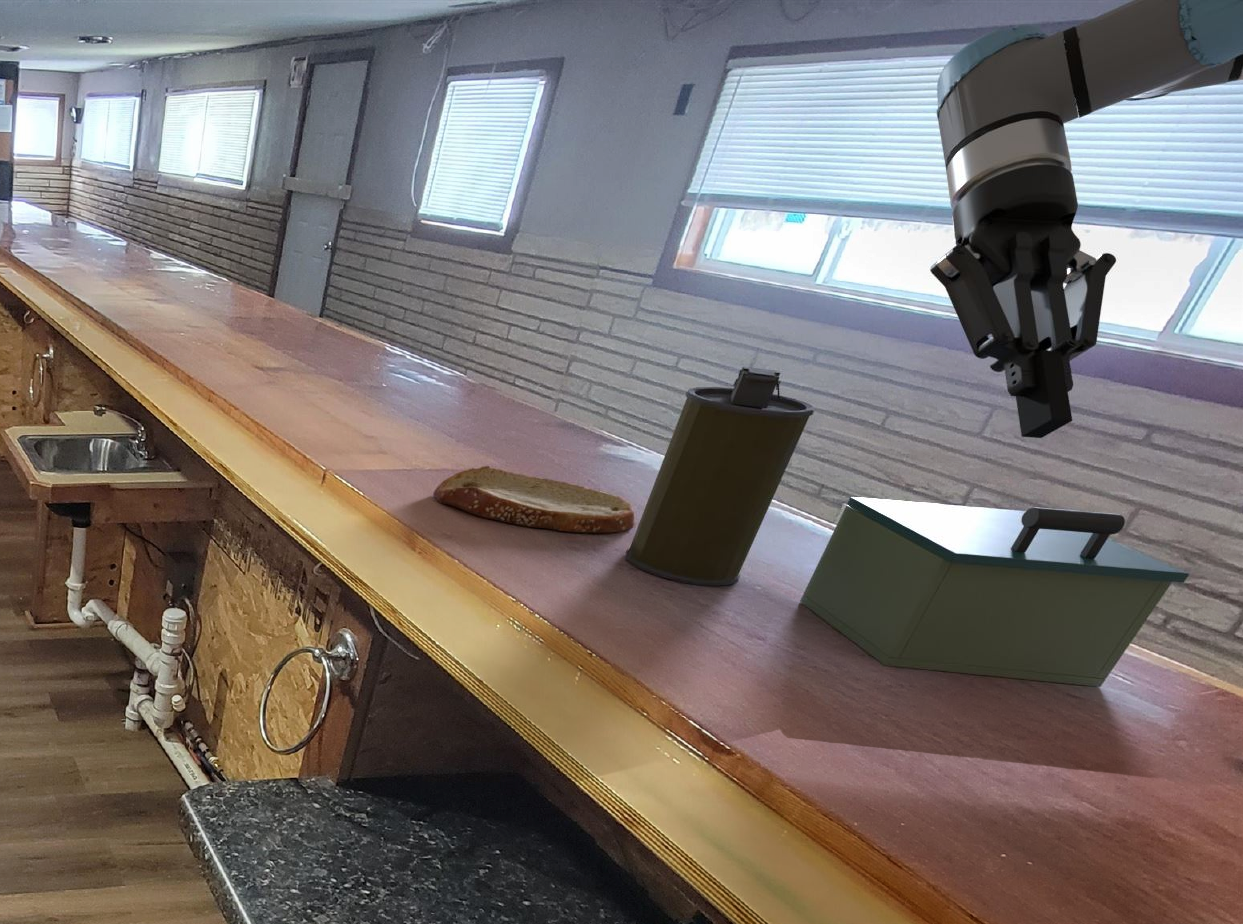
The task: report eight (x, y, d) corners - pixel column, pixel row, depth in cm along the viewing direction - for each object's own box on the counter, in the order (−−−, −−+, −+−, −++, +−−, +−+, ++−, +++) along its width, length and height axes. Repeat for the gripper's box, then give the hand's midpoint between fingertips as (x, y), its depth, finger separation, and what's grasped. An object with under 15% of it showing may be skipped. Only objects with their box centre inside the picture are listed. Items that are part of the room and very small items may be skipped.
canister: (740, 595, 96) (834, 388, 86) (622, 570, 100) (697, 371, 90) (736, 561, 104) (821, 369, 94) (627, 540, 108) (697, 354, 98)
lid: (1184, 583, 76) (1221, 529, 73) (949, 562, 78) (979, 509, 75) (1045, 521, 88) (1073, 473, 86) (846, 504, 90) (868, 458, 88)
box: (1100, 687, 81) (1175, 579, 76) (884, 665, 83) (943, 559, 78) (986, 619, 93) (1044, 521, 88) (799, 601, 95) (845, 505, 90)
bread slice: (649, 528, 112) (661, 497, 110) (534, 545, 106) (545, 512, 104) (525, 482, 126) (534, 453, 124) (417, 494, 120) (425, 464, 118)
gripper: (1051, 227, 89) (1090, 458, 83) (896, 220, 90) (922, 445, 84) (1135, 162, 81) (1184, 409, 75) (965, 155, 83) (999, 397, 77)
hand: (1046, 428), depth 80 cm, fingers closed
